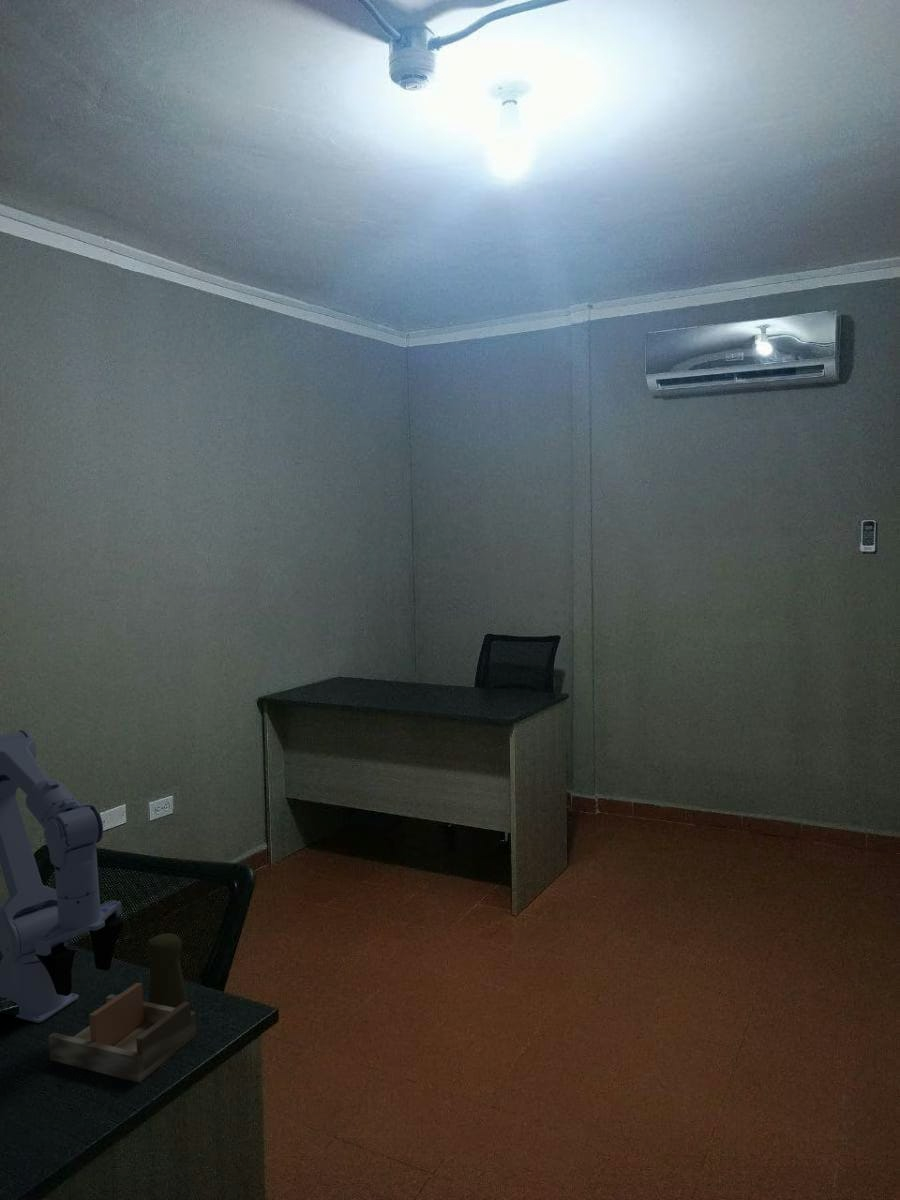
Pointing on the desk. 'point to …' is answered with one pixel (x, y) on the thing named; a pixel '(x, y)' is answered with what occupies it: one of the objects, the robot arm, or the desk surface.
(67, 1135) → the desk surface
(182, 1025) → the wooden tray
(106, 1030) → the lane pusher
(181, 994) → the brown tapered rounded cylinder
